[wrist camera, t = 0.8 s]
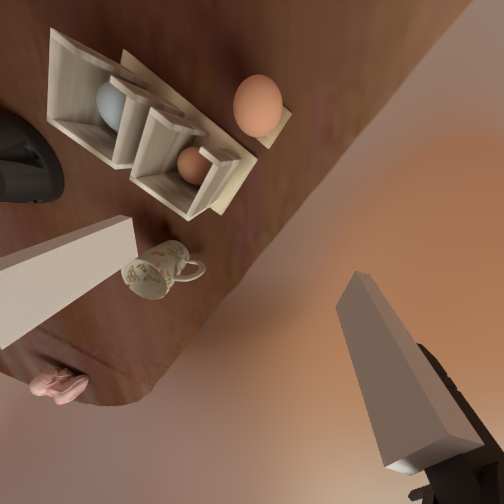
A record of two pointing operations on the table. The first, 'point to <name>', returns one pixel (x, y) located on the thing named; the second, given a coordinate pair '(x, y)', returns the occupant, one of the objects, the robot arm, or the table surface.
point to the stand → (275, 129)
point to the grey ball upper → (110, 104)
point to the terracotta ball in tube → (193, 166)
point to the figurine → (58, 384)
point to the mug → (159, 269)
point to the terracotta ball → (257, 105)
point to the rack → (142, 127)
